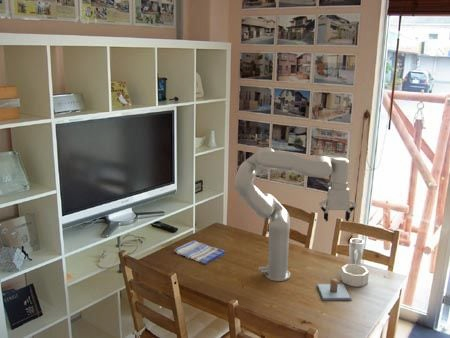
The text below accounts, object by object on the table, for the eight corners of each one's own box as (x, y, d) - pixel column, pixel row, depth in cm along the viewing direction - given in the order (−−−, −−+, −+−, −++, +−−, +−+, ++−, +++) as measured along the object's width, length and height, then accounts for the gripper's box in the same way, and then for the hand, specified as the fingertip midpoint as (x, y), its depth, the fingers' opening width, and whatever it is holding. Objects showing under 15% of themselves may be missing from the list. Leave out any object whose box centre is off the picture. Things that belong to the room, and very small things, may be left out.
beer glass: (362, 272, 231) (364, 244, 227) (347, 270, 233) (350, 243, 229) (361, 265, 238) (363, 238, 234) (347, 264, 239) (349, 237, 235)
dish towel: (194, 243, 265) (194, 238, 264) (226, 254, 251) (226, 250, 250) (172, 253, 252) (172, 248, 251) (205, 266, 238) (205, 261, 237)
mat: (322, 300, 205) (322, 299, 205) (316, 285, 218) (316, 285, 218) (351, 300, 206) (351, 299, 205) (344, 285, 218) (344, 285, 218)
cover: (323, 299, 206) (324, 287, 204) (317, 285, 217) (318, 274, 216) (350, 299, 206) (351, 287, 204) (343, 285, 218) (344, 274, 216)
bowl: (345, 287, 217) (346, 275, 215) (338, 275, 228) (339, 264, 226) (369, 287, 217) (371, 275, 215) (362, 275, 228) (363, 264, 227)
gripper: (321, 187, 208) (319, 223, 213) (360, 187, 208) (357, 223, 213) (318, 182, 215) (316, 217, 220) (355, 182, 216) (352, 217, 220)
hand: (336, 220), depth 216 cm, fingers open, 9 cm apart
